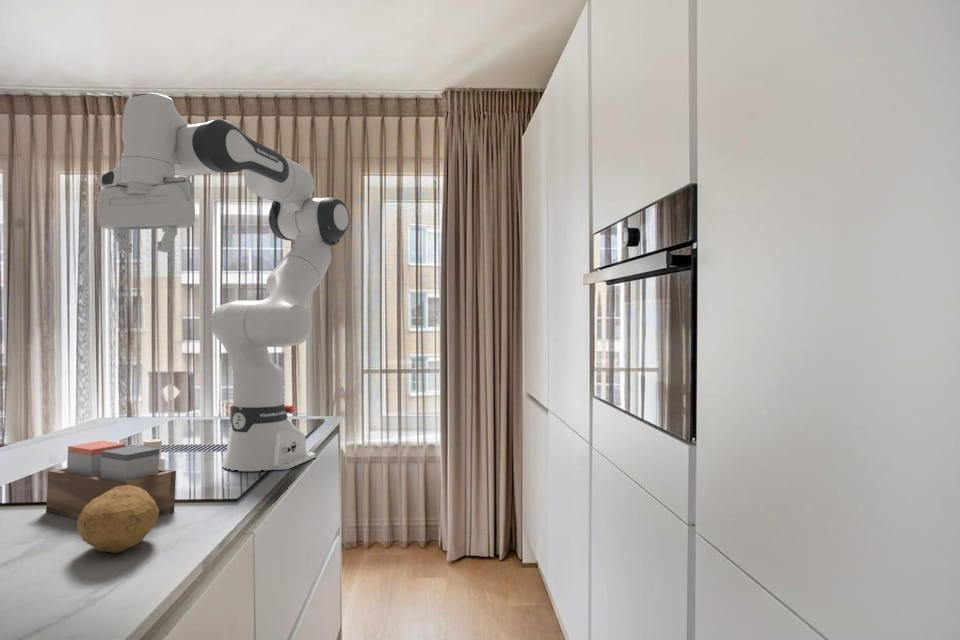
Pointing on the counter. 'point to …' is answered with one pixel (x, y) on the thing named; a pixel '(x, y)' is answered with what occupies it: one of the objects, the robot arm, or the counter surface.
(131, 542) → the potato
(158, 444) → the pepper shaker
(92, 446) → the red and grey cube
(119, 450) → the grey cube
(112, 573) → the counter surface
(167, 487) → the wooden divided tray
